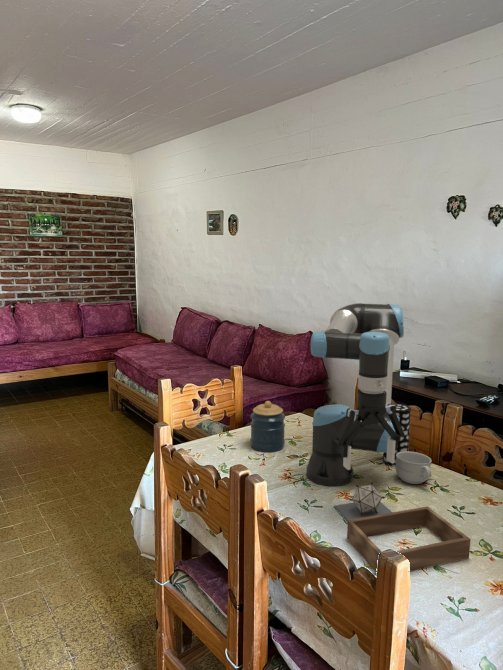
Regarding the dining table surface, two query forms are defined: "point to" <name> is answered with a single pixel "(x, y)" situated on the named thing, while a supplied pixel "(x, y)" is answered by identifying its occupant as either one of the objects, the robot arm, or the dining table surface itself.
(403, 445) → the white-spotted black cylinder
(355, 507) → the pad
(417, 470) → the teacup
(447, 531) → the rectangular frame
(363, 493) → the game die
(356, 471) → the dining table surface
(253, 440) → the canister
